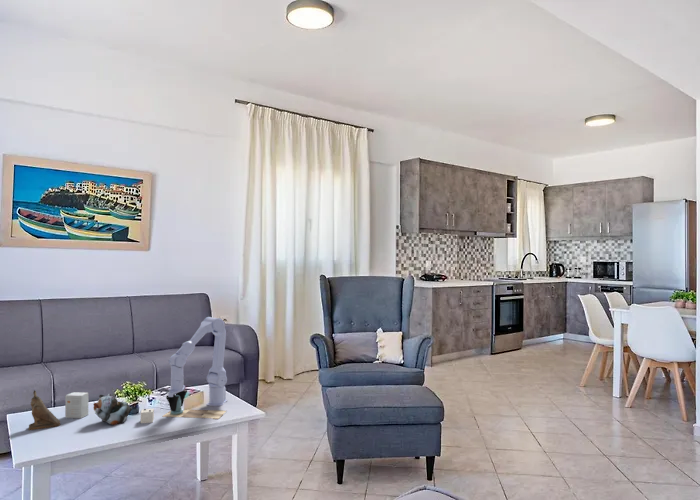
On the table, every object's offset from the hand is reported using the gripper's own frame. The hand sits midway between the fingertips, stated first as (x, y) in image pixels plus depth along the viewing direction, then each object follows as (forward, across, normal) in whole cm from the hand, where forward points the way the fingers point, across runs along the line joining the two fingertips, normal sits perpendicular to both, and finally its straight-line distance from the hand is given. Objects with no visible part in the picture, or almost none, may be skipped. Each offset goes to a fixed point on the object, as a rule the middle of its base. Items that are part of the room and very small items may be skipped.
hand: (176, 408), depth 239 cm
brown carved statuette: (+3, +24, -49) cm, 55 cm away
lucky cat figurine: (+3, +14, -24) cm, 28 cm away
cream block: (+2, +13, -8) cm, 15 cm away
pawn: (+2, 0, 0) cm, 2 cm away
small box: (+3, +9, -44) cm, 45 cm away
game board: (+2, 0, +9) cm, 9 cm away
